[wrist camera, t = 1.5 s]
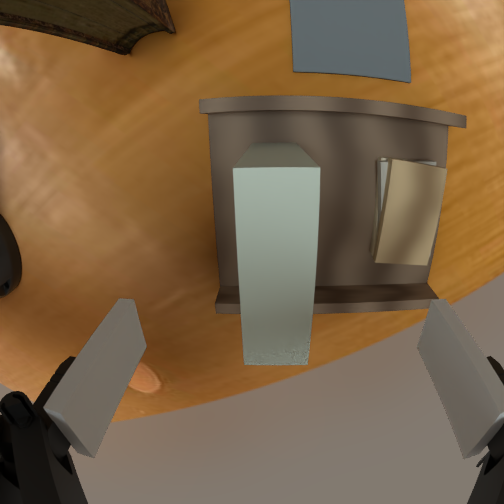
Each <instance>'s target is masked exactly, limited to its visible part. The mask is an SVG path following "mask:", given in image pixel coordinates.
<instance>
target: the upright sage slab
mask: <svg viewBox="0 0 504 504" xmlns="http://www.w3.org/2000/svg"><path fill="white" fill-rule="evenodd" d="M233 182H234V203H235V222H236V241H237V259H238V276H239V293H240V309H241V325H242V340H243V355H244V365H308V356H309V347H310V337H311V327H312V316H313V305H314V292H315V279H316V264H317V247H318V227H319V201H320V167H319V166H318V165H317V164H316V163H315V162H314V160H313V159H312V158H311V157H310V156H309V155H308V154H307V153H306V152H305V151H304V150H303V149H302V148H301V147H300V146H299V145H298V144H297V143H252V144H251V146H250V147H249V148H248V149H247V151H246V152H245V153H244V154H243V156H242V157H241V158H240V160H239V161H238V162H237V163H236V165H235V166H234V167H233Z"/></svg>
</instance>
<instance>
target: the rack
mask: <svg viewBox="0 0 504 504" xmlns="http://www.w3.org/2000/svg"><path fill="white" fill-rule="evenodd" d="M199 108H200V113H201V114H208V121H209V141H210V159H211V175H212V190H213V205H214V218H215V231H216V244H217V256H218V267H219V278H220V288H219V292H218V295H217V298H216V302H215V308H216V313H221V314H241V309H240V293H239V276H238V259H237V241H236V222H235V203H234V182H233V167H234V166H235V165H236V163H237V162H238V161H239V160H240V158H241V157H242V156H243V154H244V153H245V152H246V151H247V149H248V148H249V147H250V146H251V144H252V143H297V144H298V145H299V146H300V147H301V148H302V149H303V150H304V151H305V152H306V153H307V154H308V155H309V156H310V157H311V158H312V159H313V160H314V162H315V163H316V164H317V165H318V166H319V167H320V201H319V227H318V247H317V264H316V279H315V292H314V305H313V314H326V313H357V312H379V311H397V310H412V309H426V308H429V307H430V304H431V300H436V299H439V298H438V297H437V295H436V294H435V293H434V291H433V290H432V289H431V287H430V286H429V285H428V284H427V280H428V276H429V272H430V267H431V263H432V258H433V253H434V248H435V243H436V237H437V232H438V226H439V220H440V214H439V219H438V223H437V228H436V232H435V236H434V240H433V245H432V248H431V254H430V257H429V260H428V264H427V266H426V265H409V264H391V263H375V261H374V260H373V256H372V254H371V253H370V248H371V239H372V231H373V221H374V211H375V199H376V186H377V160H378V156H379V157H392V158H403V159H414V160H433V161H436V166H439V167H443V168H446V159H447V144H448V126H454V127H461V128H466V116H464V115H460V114H455V113H451V112H446V111H441V110H435V109H430V108H424V107H418V106H412V105H406V104H399V103H391V102H383V101H374V100H364V99H353V98H340V97H321V96H243V97H225V98H211V99H200V100H199ZM441 206H442V204H441ZM440 213H441V209H440Z"/></svg>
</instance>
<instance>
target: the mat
mask: <svg viewBox="0 0 504 504" xmlns="http://www.w3.org/2000/svg"><path fill="white" fill-rule="evenodd" d="M290 13H291V31H292V51H293V72H308V73H329V74H343V75H354V76H364V77H373V78H381V79H388V80H395V81H401V82H407V83H411V70H410V53H409V40H408V30H407V21H406V12H405V5H404V0H290Z"/></svg>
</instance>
